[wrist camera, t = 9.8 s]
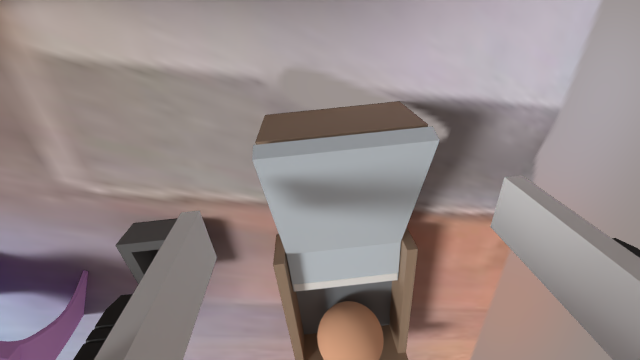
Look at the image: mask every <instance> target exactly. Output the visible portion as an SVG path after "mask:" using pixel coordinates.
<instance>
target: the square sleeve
mask: <svg viewBox="0 0 640 360" xmlns="http://www.w3.org/2000/svg"><path fill="white" fill-rule="evenodd" d="M176 221H177V219H169V220H160V221H151V222H142V223H133V224H132V226H131V227H130V228H129V229H128V231H127V232H126V233H125V234H124V235H123V237H122V238H121V239H120V240H119V242H118V243H117V244H116V247H117V249H118V250H119V252H120V254H121V256H122V257H123V259H124V261H125V262H126V264H127V266H128V267H129V269H130V271H131V272H132V274H133V276H134V277H135V279H136V281H137V283H138V284H139V283H140V281H141V280H142V278H143V276H144V275H145V273H146V271H147V270H148V268H149V266H150V264H151V263H152V261H153V259H154V258H155V256H156V254H157V253H158V250H157V249H160V248H161V246H162V244H163V243H164V241H165V239H166V238H167V236H168V234H169V232H170V231H171V229H172V227H173V226H174V224H175V222H176Z"/></svg>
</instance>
